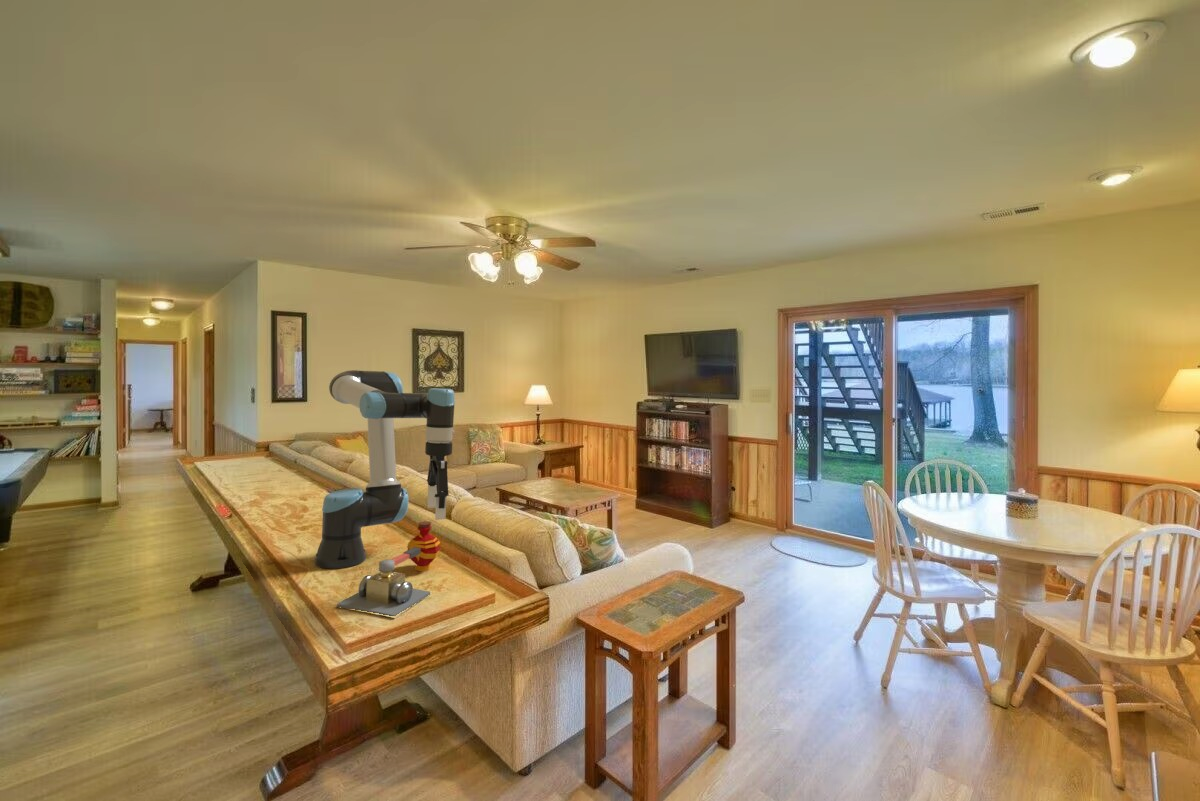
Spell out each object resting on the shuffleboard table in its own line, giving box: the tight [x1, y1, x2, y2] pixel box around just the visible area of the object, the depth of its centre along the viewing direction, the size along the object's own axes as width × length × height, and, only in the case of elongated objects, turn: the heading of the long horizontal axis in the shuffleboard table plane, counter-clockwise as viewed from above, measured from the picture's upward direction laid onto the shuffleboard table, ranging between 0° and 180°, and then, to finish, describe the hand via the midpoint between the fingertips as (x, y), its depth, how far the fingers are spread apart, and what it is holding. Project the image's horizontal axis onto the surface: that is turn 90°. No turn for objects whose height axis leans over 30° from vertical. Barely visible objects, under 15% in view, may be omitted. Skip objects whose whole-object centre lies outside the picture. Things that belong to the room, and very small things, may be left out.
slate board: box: [336, 588, 431, 616], centre depth 143 cm, size 18×16×1 cm
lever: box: [378, 547, 421, 572], centre depth 148 cm, size 16×4×2 cm, turn 165°
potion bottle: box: [406, 520, 441, 572], centre depth 168 cm, size 10×10×15 cm
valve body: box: [358, 570, 414, 605], centre depth 143 cm, size 14×7×8 cm, turn 75°
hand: (436, 513), depth 150 cm, fingers open, 13 cm apart
